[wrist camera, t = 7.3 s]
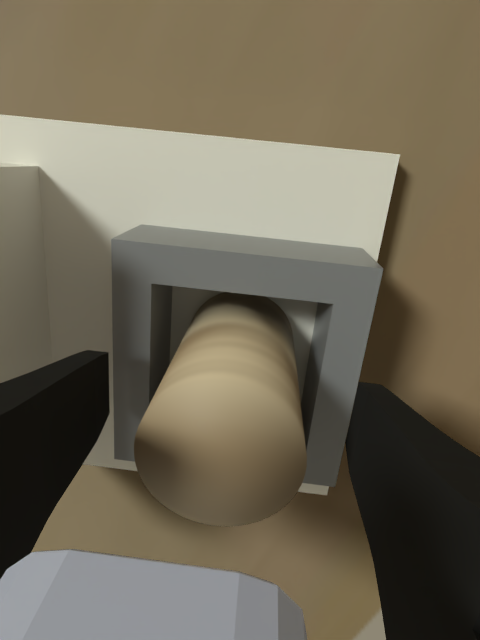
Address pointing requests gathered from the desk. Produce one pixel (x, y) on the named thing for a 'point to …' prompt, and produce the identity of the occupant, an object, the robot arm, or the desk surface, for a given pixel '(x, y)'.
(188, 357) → the maple peg
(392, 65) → the desk surface
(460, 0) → the desk surface
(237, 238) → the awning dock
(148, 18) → the desk surface
